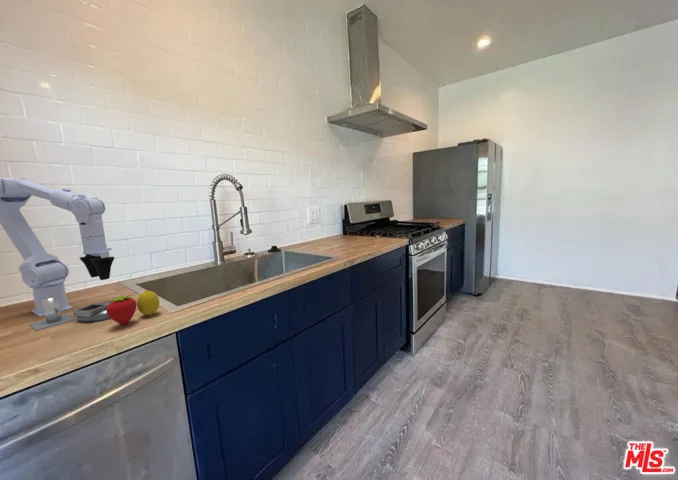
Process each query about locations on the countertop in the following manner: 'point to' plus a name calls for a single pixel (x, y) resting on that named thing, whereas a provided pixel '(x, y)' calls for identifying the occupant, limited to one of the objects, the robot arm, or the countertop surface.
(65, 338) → the countertop surface
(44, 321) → the mat
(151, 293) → the lemon
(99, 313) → the grey rounded hollow piece
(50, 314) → the key
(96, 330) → the countertop surface
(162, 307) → the countertop surface
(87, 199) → the robot arm
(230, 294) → the countertop surface
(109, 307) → the strawberry
